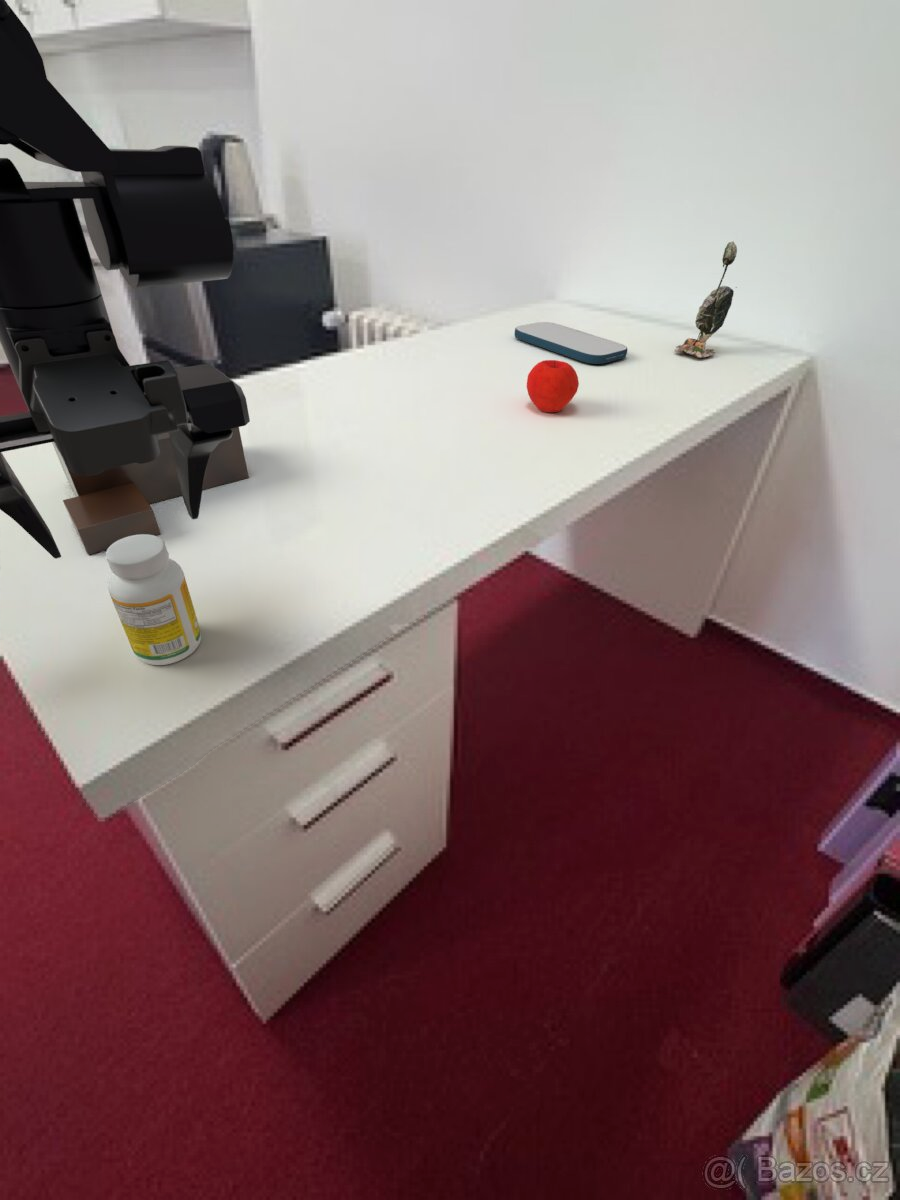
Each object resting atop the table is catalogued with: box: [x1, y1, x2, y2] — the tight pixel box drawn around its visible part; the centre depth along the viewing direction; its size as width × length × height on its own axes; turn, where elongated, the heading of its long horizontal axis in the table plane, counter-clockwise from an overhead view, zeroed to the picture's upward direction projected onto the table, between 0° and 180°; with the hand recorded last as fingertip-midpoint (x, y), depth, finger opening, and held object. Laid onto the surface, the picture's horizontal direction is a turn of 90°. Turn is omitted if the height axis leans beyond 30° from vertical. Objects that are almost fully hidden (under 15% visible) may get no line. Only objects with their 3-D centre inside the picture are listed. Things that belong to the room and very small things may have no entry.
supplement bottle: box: [105, 534, 202, 666], centre depth 46 cm, size 5×5×10 cm
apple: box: [526, 359, 580, 413], centre depth 92 cm, size 8×8×7 cm
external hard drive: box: [514, 321, 628, 365], centre depth 120 cm, size 24×12×2 cm, turn 39°
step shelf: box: [51, 427, 250, 556], centre depth 67 cm, size 20×17×7 cm
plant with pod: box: [674, 240, 738, 359], centre depth 115 cm, size 8×11×20 cm
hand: (129, 535), depth 43 cm, fingers open, 9 cm apart
